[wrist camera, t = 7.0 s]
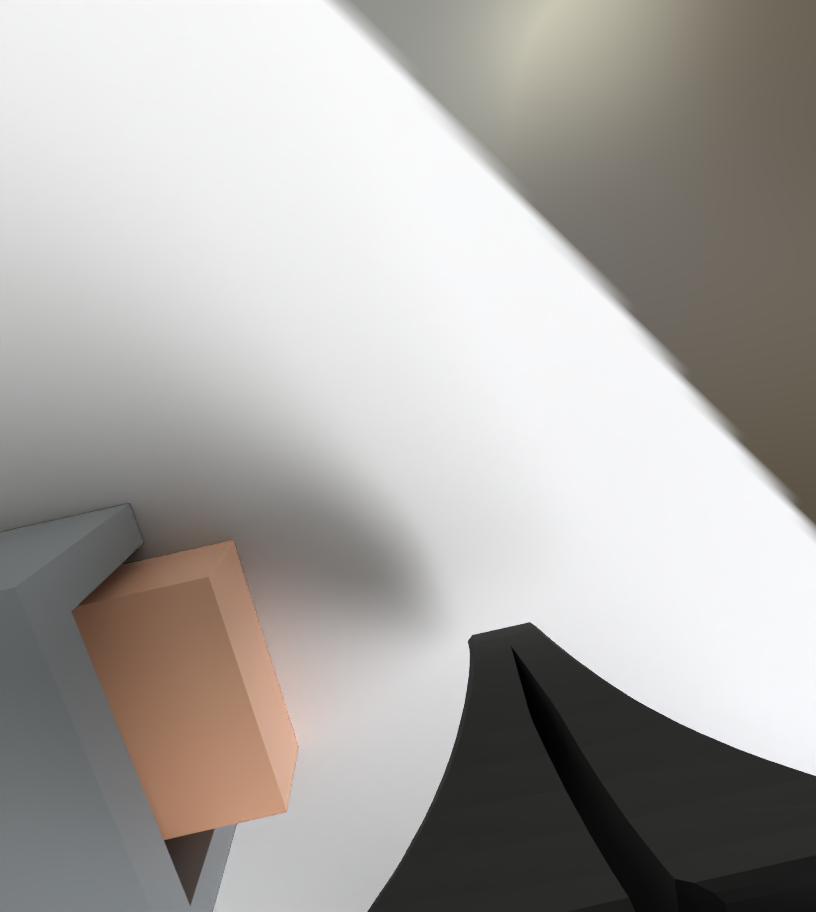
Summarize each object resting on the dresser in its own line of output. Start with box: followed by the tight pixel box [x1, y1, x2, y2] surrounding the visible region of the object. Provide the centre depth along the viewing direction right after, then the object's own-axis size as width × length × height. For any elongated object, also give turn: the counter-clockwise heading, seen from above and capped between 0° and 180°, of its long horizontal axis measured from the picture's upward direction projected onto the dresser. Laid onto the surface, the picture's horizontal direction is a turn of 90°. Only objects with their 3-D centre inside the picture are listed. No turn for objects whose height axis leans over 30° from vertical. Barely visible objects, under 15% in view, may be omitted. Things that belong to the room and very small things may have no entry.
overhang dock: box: [0, 503, 237, 912], centre depth 12 cm, size 7×9×4 cm
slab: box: [71, 540, 299, 840], centre depth 13 cm, size 8×6×2 cm
